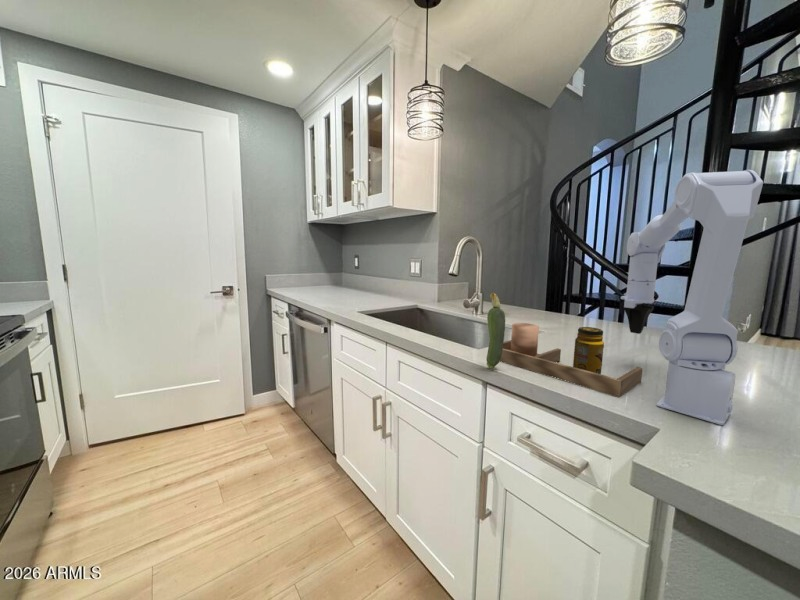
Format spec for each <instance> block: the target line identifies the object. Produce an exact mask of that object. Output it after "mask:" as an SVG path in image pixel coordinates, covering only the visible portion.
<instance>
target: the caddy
mask: <svg viewBox="0 0 800 600" xmlns="http://www.w3.org/2000/svg"><path fill="white" fill-rule="evenodd" d="M539 328H540V327H539V325H537V324H532V323H526V322H525V323H523V322H516V323H512V324H511V337H510V339H511V340H506V341H504V342H503V350H502V355H501V358H500V361H499V362H501V361H502V362H501V363H504V362H505V364H508V365H510V366H511V365H512V366H515V367H518V368H521V369H523V370H524V369H525V370H528V371H531V372H535V373H538V374H542V375H544V374H545V375H544V376H547V375H549V376H548V377H550V376H553V377H552V378H554V377H556V378H555V379H557V378H559V379H558V380H560V379H562V380H561V381H564V380H566V381H565V382H567V381H569V382H568V383H570V382H572V383H571V384H573V383H575V384H574V385H576V386H580V385H581V386H580V387H583V386H584V388H587V389H590V388H591V389H590V390H593V389H594V391H597V392H600V393H603V394H608V395H610V396H614V397H617V398H620V397H621V396H623V395H624V394H627V392H629V391H631V390H633V389H634V388H635V387H636V386H638V385H639V384H641V383H642V376H643V367H640V366H637V367H635V368H633V369H631V370H630V371H628V372H626V373H624V374H623V375H621V376H618V378H615V377H611V376H608V375H604V374H602V373H601V374H597V373H594V372H590V371H586V370H582V369H579V368H575V367H573V366H569V365H567V364H563V363H559V362H561V352H562V350H561V348H554V349H552V350H548V351H546V352H545V351H544V352H542V353H538V348H539V346H538V344H539V330H540V329H539ZM557 361H559V362H557ZM556 362H557V363H556Z"/></svg>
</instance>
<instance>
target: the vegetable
mask: <svg viewBox="0 0 800 600" xmlns="http://www.w3.org/2000/svg"><path fill="white" fill-rule="evenodd" d="M489 297H490V299H491V306H492V308H490V309H489V310H488V313H487V317H486V319H487V326H488V327H487V328H488V333H489V343H488V348H487V355H486V366H487V367H488V368H490V369H491V370H493V369H494V368H495V367H496V366H497V365H499V363H500V362H501V361H500V358H501V355H502V350H503V342H505V341H504V340H505V333H506V314H505V312H504V310H503V309H502V308H501V302H500V301H501V300H500V298H499V296H498V295H497V294H496V293H495V292H492V293H490V295H489Z"/></svg>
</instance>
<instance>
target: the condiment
mask: <svg viewBox="0 0 800 600" xmlns="http://www.w3.org/2000/svg"><path fill="white" fill-rule="evenodd" d="M576 334H577V337H576V338H575V339H574V350H573V362H572V367H575V368H579V369H582V370H586V371H590V372H594V373H597V374H601V375H602V367H603V359H604V358H603V357H604V348H605V342H604V341H603V339H604V330H603V329H601V328H599V327H591V326H590V327H589V326H581V327H578V328H577V333H576Z"/></svg>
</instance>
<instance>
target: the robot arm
mask: <svg viewBox="0 0 800 600" xmlns="http://www.w3.org/2000/svg"><path fill="white" fill-rule="evenodd" d="M763 184H764V181H763V179H762V178H761V177H760V176H759V174H758V173H757V172H756V171H755V170H752V169H745V170H739V171H737V170H736V171H735V170H734V171H714V172H713V171H712V172H688V173H686V174H684V175H683V176H682V177H681V178H680V180H679V181H678V182H677V184H676V186H675V189H674V198H673V199H674V200H673V202H671V204H670V205H669V206H668V208H667V209H666V211H665V212H664V213H663V214H660V215H659V214H658V215H656V216H655V217H653V218H652V219H651V220H650V221H649V222H648V223H647V225H646V226H644V228H642V230H641V231H639V232H638V231H637V232H632V233H631V234H630V235H629V237H628V238H627V242H626V252H627V254H628V256H630V257H629V265H628V274H627V285H626V286H627V287H626V295H622V296H620V299H621V300H624V301H623V302H624V303H623V304H624V305H623V311H624V312H625V314H626V316H627V320H628V327H629V332H630V333H632V334H637V335H638V334H639V335H640V334H642V332H643V330H644V327H645V325H646V323H647V320H648V318H649V317H650V314H651V313H652V312H653V310H654V309H655V306H653V305H651V304H653V303H654V302H655V298H654V296H655V291H656V290H655V289H656V281H657V271H658V270H657V269H658V264H659V263H661V259H662V255H663V253H664V251H665V249H666V244H667V243H668V242H669V241H670V240H671V239H673V237H675V235H678V233H679V231H680V228H681V224H682V223H683V222H684V221H686V220H687V219H688V218H690V219H692V220H695V221H698V222H699V223H700V224H701V226H702V227H703V231H702V234H701V239H700V243H699V247H698V252H697V254H696V255H697V256H696V259H695V264H694V268H693V271H692V276H691V281H690V284H689V285H690V286H689V290H688V292H687V293H688V294H687V297H686V302H685V306H684V310H683V311H682V312H681V311H680V313H678V314H676V315H674V316H671V317H670V318H669V319H667V321H666V323H665V325H664V329H663V331H662V332H661V334H659V335H660V336H659V339H658V347H659V351H660V353H661V355H662V356H663V358H664V359H665V360H666V361H668V365H667V366H668V367H667V372H666V373H667V374H666V383H665V389H664V396H663V397H662V398H661V399H660V400H658V402H657V403H656V406H657V407H660V408H662V409H666V410H669V411H673V412H677V413H680V414H683V415H687V416H690V417H692V418H696V419H700V420H702V421H707V422H710V423H714V424H717V425H721V426H724V425H725V423H726V421H727V420H728V418H729V417H730V415H731V414H732V412H733V405H734V404H733V398H734V391H735V385H736V373H735V372H732V371H729V370H725V369H726V365H730V364H731V363H732V362H733V361H734V360H735V359H736V357H737V354H738V343H737V342H738V339H737V338H738V334H739V330H738V329H737V328H736V327H735V326H734V324H732V323H731V322H729V321H728V320H727V319H726V318H724V317H723V316H724V311H725V309H726V304H727V300H728V296H729V293H730V289H731V285H732V281H733V279H734V275H735V270H736V269H737V268H736V267H737V263H738V260H739V257H740V252H741V248H742V246H743V241H744V238H745V233H746V231H747V227H748V223H749V220H751V219H752V218H754V217H755V214H756V211H757V206H758V202H759V200H760V197H761V196H760V195H761V192H762V189H763ZM647 304H650V305H647Z"/></svg>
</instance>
